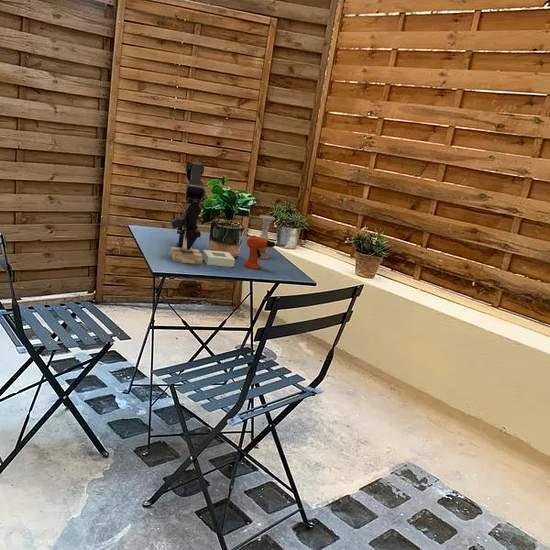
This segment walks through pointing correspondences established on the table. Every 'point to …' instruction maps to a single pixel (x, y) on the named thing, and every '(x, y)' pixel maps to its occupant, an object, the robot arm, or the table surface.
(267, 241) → the toy drill
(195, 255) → the socket block
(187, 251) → the silver flared cylinder
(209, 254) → the square block with hole
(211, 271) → the table surface
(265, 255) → the candle holder
